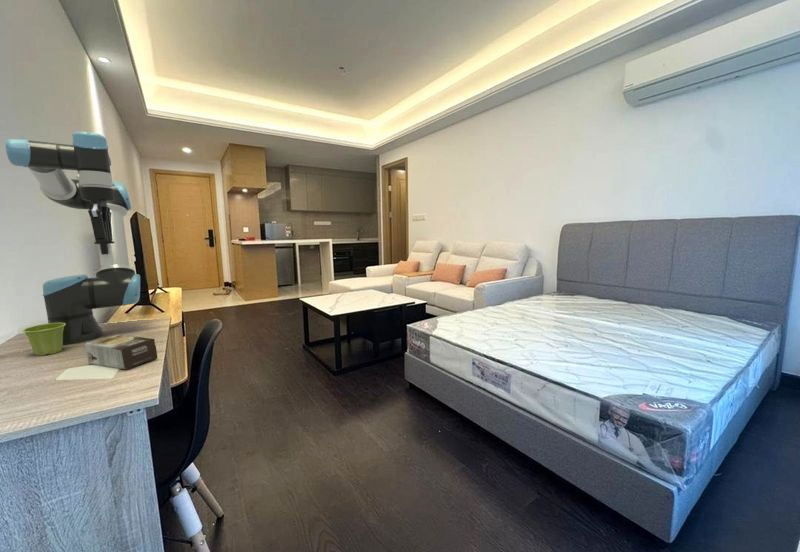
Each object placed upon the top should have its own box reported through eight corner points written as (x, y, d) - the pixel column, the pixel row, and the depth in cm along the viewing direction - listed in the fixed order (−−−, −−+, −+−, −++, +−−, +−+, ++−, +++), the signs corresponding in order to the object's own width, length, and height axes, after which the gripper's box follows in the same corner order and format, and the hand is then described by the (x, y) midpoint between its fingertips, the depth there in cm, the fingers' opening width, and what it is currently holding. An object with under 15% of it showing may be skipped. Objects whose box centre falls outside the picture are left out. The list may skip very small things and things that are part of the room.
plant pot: (77, 347, 110) (73, 322, 109) (47, 358, 101) (42, 331, 100) (50, 347, 111) (46, 322, 109) (18, 358, 101) (13, 331, 100)
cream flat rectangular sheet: (67, 370, 92) (66, 368, 92) (125, 360, 98) (125, 359, 98) (37, 398, 77) (36, 396, 76) (109, 385, 83) (109, 383, 83)
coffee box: (118, 333, 103) (156, 337, 98) (121, 352, 104) (158, 357, 99) (83, 343, 94) (122, 348, 89) (87, 364, 95) (126, 370, 90)
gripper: (87, 189, 102) (98, 263, 106) (71, 183, 91) (84, 267, 95) (118, 190, 106) (127, 262, 109) (106, 185, 95) (117, 265, 98)
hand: (107, 264), depth 102 cm, fingers closed
